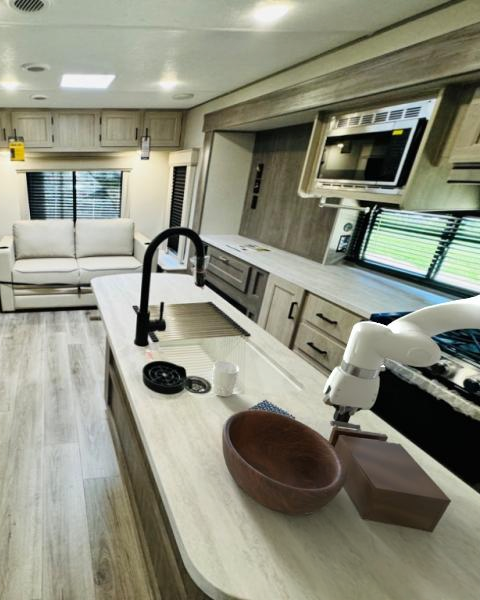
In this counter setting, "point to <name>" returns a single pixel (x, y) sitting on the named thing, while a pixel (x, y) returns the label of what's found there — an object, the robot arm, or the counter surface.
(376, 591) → the counter surface
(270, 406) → the woven mat
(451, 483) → the counter surface
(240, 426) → the wooden bowl
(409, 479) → the cabinet
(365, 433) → the drawer
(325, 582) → the counter surface
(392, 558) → the counter surface
